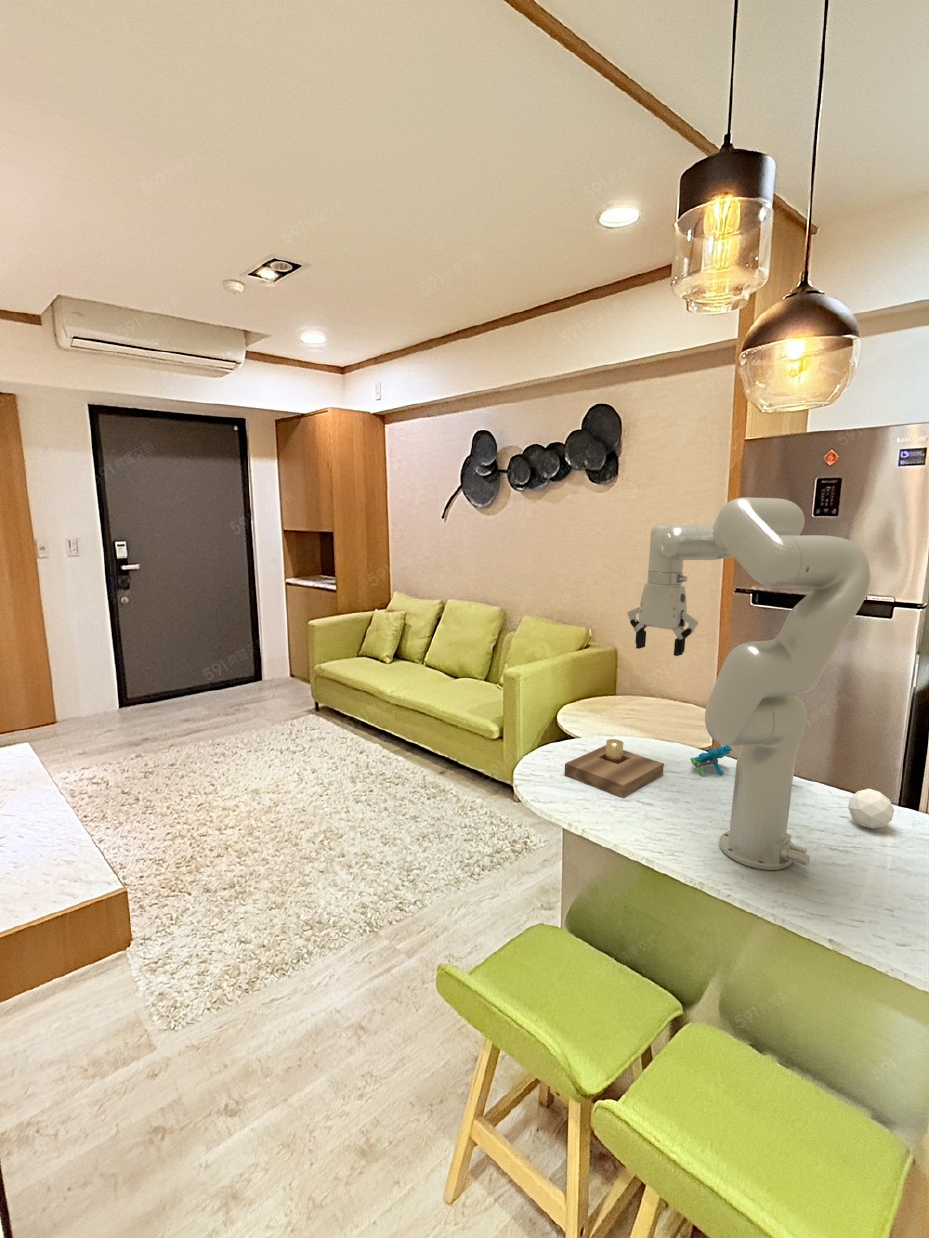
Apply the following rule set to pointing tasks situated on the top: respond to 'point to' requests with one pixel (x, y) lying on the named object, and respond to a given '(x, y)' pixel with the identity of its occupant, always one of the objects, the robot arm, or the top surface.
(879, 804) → the geometric ball
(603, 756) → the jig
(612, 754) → the brass cylinder
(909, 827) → the top surface
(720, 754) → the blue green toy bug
